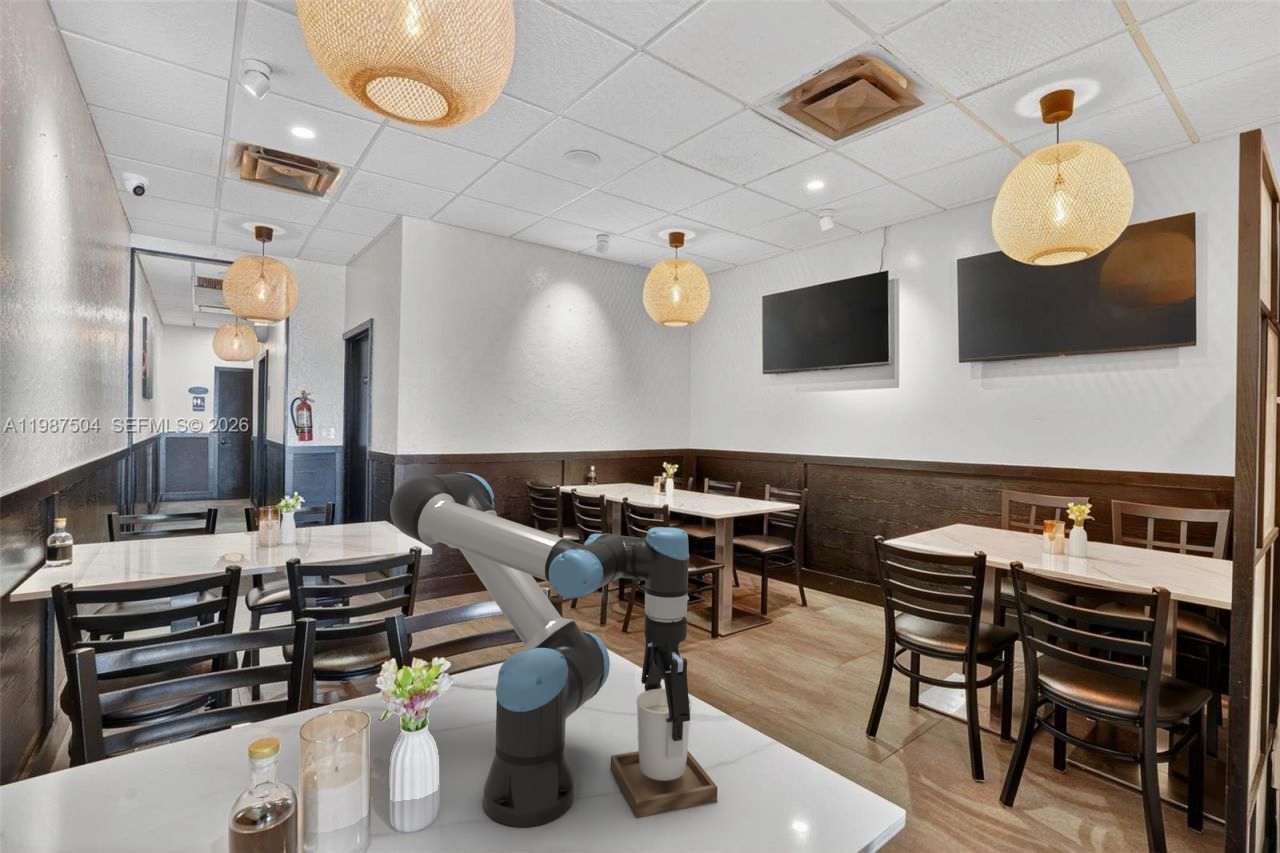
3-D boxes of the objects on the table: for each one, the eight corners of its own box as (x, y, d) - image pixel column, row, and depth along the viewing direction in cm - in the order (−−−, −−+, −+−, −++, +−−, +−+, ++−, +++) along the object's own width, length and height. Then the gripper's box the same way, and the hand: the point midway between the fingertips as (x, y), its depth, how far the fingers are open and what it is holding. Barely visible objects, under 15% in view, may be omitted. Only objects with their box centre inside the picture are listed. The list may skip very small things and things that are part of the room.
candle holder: (690, 755, 111) (692, 690, 111) (689, 786, 101) (691, 714, 101) (637, 751, 112) (639, 686, 112) (632, 781, 102) (633, 710, 102)
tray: (636, 818, 97) (636, 802, 97) (610, 769, 111) (610, 755, 111) (717, 801, 102) (717, 786, 102) (682, 757, 116) (682, 744, 116)
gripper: (713, 634, 98) (710, 772, 97) (662, 597, 119) (659, 710, 118) (670, 638, 95) (667, 780, 95) (626, 600, 116) (623, 716, 116)
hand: (663, 741), depth 107 cm, fingers closed on candle holder, 10 cm apart
